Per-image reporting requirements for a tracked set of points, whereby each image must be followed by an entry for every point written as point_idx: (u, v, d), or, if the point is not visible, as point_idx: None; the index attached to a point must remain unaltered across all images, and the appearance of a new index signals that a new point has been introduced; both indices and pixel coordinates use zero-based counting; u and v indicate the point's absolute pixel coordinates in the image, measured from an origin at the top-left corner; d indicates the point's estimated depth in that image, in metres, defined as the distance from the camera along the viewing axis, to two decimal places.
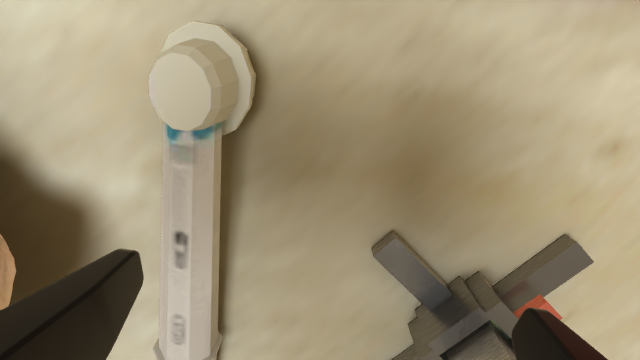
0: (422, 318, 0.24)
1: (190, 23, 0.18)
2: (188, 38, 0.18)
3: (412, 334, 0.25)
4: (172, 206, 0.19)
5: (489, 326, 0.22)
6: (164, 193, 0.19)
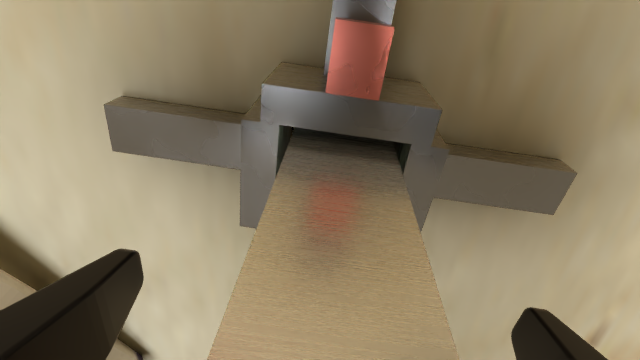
0: None
1: None
2: None
3: None
4: None
5: (291, 139, 0.11)
6: None
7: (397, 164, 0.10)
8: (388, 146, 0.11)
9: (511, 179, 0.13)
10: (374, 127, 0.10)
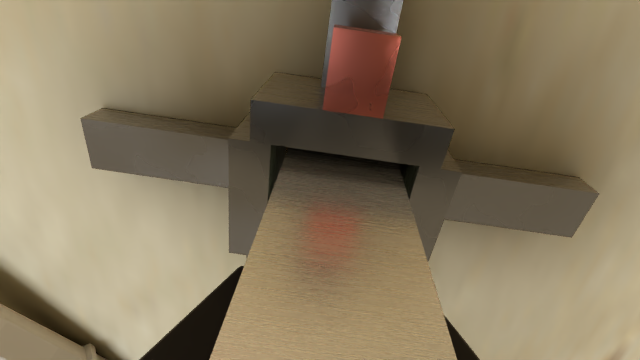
0: None
1: None
2: None
3: None
4: None
5: (285, 160, 0.10)
6: None
7: (403, 190, 0.09)
8: (393, 167, 0.10)
9: (526, 200, 0.12)
10: (377, 148, 0.09)
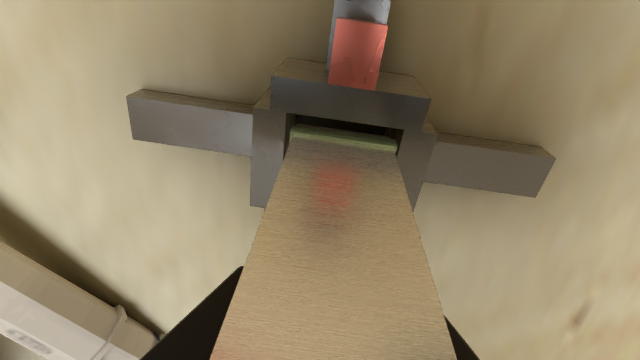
0: None
1: None
2: None
3: None
4: None
5: (285, 159, 0.10)
6: None
7: (403, 189, 0.09)
8: (393, 166, 0.10)
9: (496, 164, 0.15)
10: (371, 114, 0.12)
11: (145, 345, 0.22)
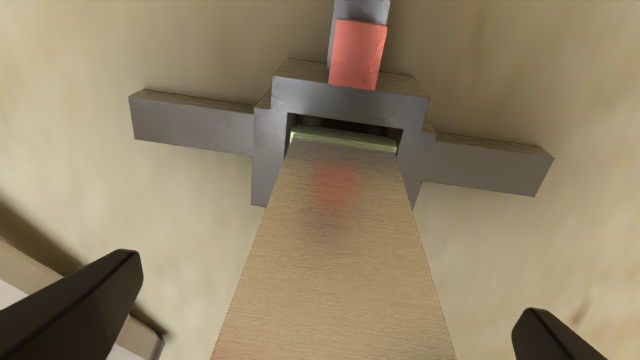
0: None
1: None
2: None
3: None
4: None
5: (285, 160, 0.10)
6: None
7: (403, 189, 0.09)
8: (393, 167, 0.10)
9: (495, 164, 0.15)
10: (370, 114, 0.12)
11: (148, 344, 0.23)
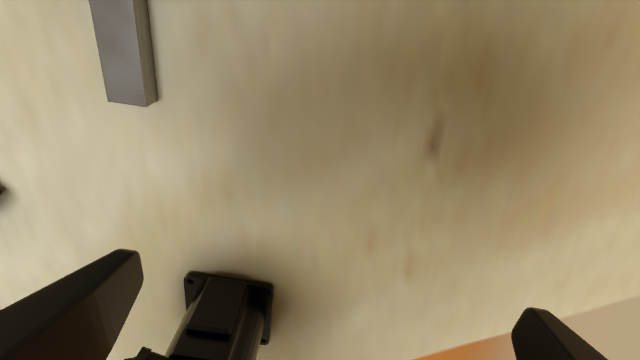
0: None
1: None
2: None
3: None
4: None
5: None
6: None
7: None
8: None
9: None
10: None
11: None
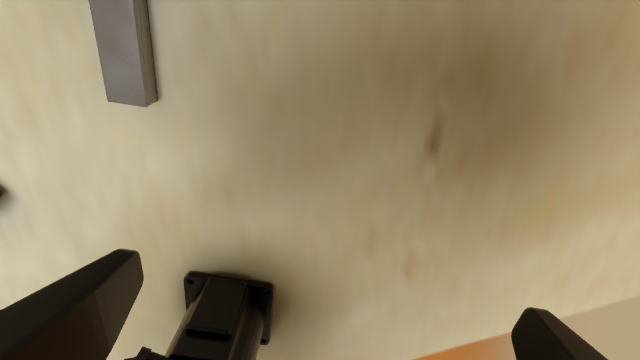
0: None
1: None
2: None
3: None
4: None
5: None
6: None
7: None
8: None
9: None
10: None
11: None
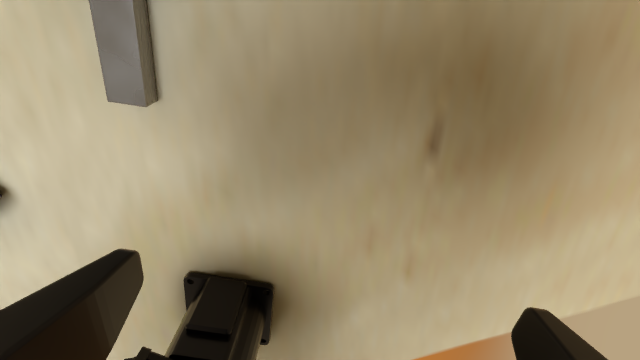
0: None
1: None
2: None
3: None
4: None
5: None
6: None
7: None
8: None
9: None
10: None
11: None
